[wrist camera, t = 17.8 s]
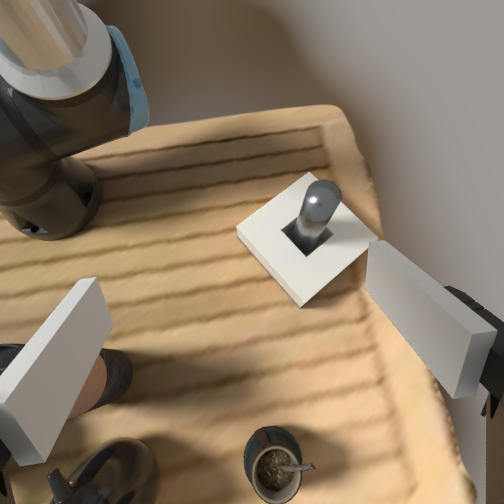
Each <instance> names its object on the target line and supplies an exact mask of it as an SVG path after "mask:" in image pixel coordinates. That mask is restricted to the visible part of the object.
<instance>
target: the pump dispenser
mask: <svg viewBox="0 0 504 504" xmlns="http://www.w3.org/2000/svg"><path fill="white" fill-rule="evenodd" d="M46 480H47V482H48V485H49V487H50V490H51V492H52V494H53V497H52V499H51V501H50V503H49V504H156V503H157V500H158V496H159V492H160V471H159V466H158V463H157V460H156V458H155V456H154V454H153V453H152V451H151V450H150V449H149V448H148V447H147V446H146V445H145V444H143V443H142V442H140V441H138V440H136V439H133V438H129V437H118V438H113V439H110V440H107V441H105V442H103V443H101V444H100V445H98V446H97V447H95V448H94V449H92V450H91V451H90V452H89V453H88V454H86V455H85V456H84V457H83V458H82V459H81V460H80V461H79V462H78V463H77V464H76V465H75V466H74V467H73V469H72V470H71V471H70V472H69V473H68V475H67V476H66V477H64V476H63V474H62V473H61V471H60V470H59V469H58V468H55V469H53V470H51V471H50V472H49V473H48V474H47V476H46Z"/></svg>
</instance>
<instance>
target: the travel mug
mask: <svg viewBox="0 0 504 504" xmlns="http://www.w3.org/2000/svg"><path fill="white" fill-rule="evenodd" d="M24 345H26V344H0V363H1V362H2V361H3V360H4V359H5V357H7V356H8V355H9V354H11V353H12V352H13V351H14V350H16V349H17V348H18V347H20V346H24ZM131 379H132V366H131V363H130V361H129V359H128V358H127V356H126V355H124V354H123V353H122V352H120V351H117V350H113V349H104V348H102V349H101V351H100V353H99V355H98V357H97V359H96V361H95V363H94V365H93V367H92V369H91V371H90V373H89V375H88V377H87V379H86V381H85V383H84V385H83V387H82V389H81V391H80V393H79V395H78V397H77V399H76V401H75V403H74V405H73V407H72V409H71V411H70V413H69V415H68V418H67V419H70V418H73V417H76V416H79V415H82V414H84V413H87V412H89V411H91V410H94V409H96V408H99V407H101V406H103V405H106V404H108V403H110V402H113V401H115V400H116V399H118V398H119V397H121V396H122V395H123V394H124V393H125V391H126V390H127V388H128V387H129V385H130V382H131Z"/></svg>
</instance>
